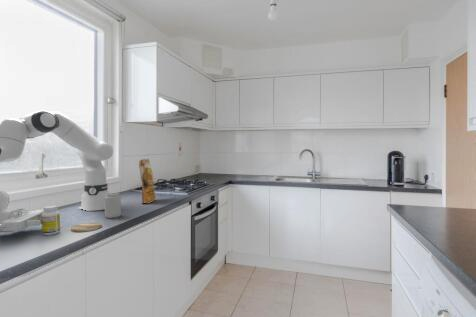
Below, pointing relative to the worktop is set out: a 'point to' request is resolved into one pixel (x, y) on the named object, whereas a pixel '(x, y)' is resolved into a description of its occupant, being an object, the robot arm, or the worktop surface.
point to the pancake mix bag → (146, 181)
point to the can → (112, 205)
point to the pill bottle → (50, 220)
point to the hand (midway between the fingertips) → (47, 219)
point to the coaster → (86, 227)
